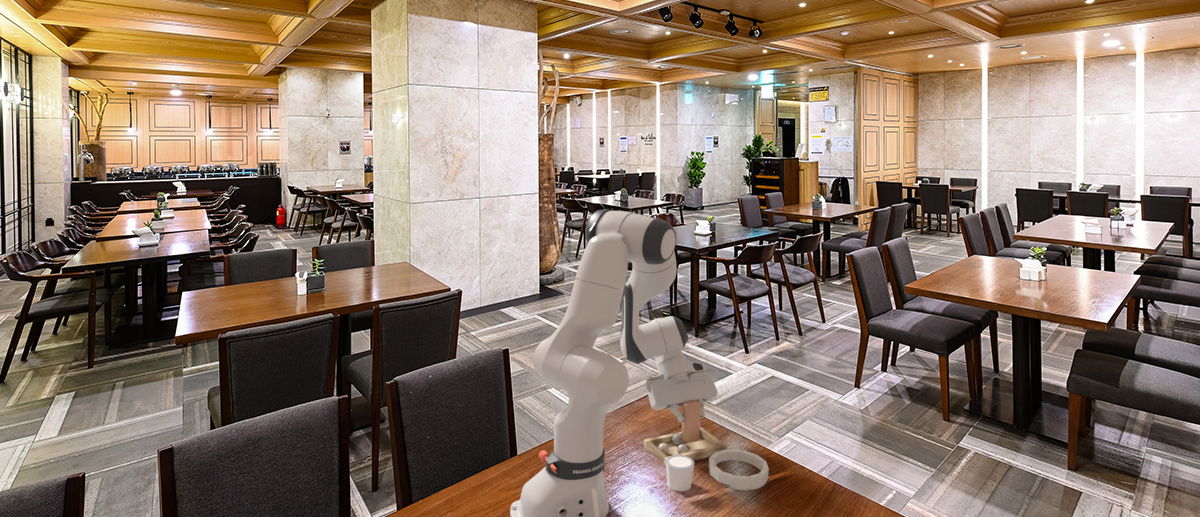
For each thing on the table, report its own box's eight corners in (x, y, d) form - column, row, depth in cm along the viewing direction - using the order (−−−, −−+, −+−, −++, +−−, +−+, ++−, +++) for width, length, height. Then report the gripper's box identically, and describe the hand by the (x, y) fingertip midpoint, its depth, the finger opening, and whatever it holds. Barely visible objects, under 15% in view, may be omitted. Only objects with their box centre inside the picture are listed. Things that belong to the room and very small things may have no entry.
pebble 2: (686, 442, 169) (677, 449, 169) (681, 437, 172) (672, 443, 171) (682, 434, 168) (674, 441, 168) (677, 429, 171) (668, 436, 170)
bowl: (732, 495, 147) (732, 483, 146) (698, 467, 160) (698, 456, 159) (779, 482, 153) (780, 470, 152) (742, 456, 166) (743, 445, 165)
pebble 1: (661, 457, 163) (661, 447, 162) (655, 452, 165) (656, 442, 165) (671, 455, 164) (671, 445, 163) (665, 450, 167) (665, 440, 166)
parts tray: (666, 469, 158) (666, 459, 158) (643, 449, 169) (643, 439, 168) (726, 455, 166) (726, 445, 166) (701, 436, 177) (701, 427, 176)
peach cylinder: (687, 443, 164) (689, 407, 163) (678, 435, 169) (679, 401, 167) (702, 440, 166) (704, 405, 165) (692, 432, 171) (694, 398, 169)
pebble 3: (686, 443, 163) (691, 454, 163) (684, 441, 166) (688, 452, 165) (676, 447, 162) (680, 458, 162) (674, 446, 165) (678, 456, 165)
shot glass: (692, 497, 146) (693, 470, 145) (663, 493, 147) (664, 466, 146) (693, 482, 153) (694, 456, 151) (666, 478, 154) (667, 453, 153)
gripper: (647, 372, 166) (664, 421, 159) (709, 363, 175) (728, 409, 168) (638, 382, 171) (654, 430, 164) (699, 373, 180) (717, 418, 173)
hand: (692, 419), depth 166 cm, fingers closed on peach cylinder, 5 cm apart
